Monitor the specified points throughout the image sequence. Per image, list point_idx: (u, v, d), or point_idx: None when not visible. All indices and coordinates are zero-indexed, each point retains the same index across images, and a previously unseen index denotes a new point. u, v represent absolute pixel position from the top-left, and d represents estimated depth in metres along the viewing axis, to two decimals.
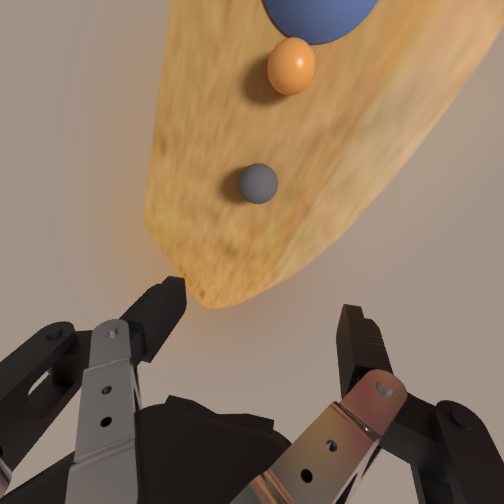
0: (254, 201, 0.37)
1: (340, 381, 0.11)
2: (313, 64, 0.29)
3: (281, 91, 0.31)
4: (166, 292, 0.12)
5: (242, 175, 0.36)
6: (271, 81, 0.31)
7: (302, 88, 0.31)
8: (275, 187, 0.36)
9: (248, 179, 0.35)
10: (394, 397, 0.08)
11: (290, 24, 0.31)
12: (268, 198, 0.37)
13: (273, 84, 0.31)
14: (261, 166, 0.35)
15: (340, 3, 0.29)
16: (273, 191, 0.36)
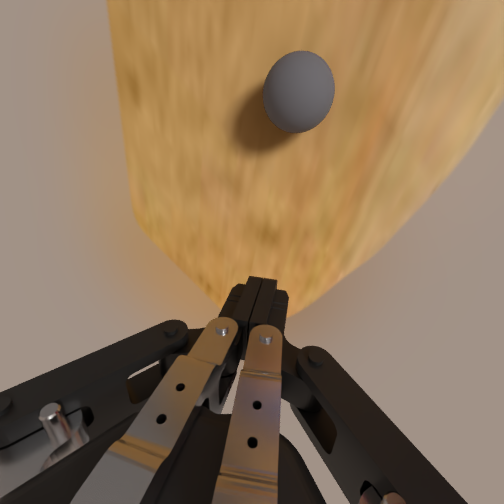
0: (298, 122, 0.20)
1: None
2: None
3: None
4: (255, 292, 0.12)
5: (268, 79, 0.20)
6: None
7: None
8: (332, 86, 0.19)
9: (281, 78, 0.19)
10: (269, 343, 0.09)
11: None
12: (323, 110, 0.20)
13: None
14: (299, 51, 0.19)
15: None
16: (330, 94, 0.19)
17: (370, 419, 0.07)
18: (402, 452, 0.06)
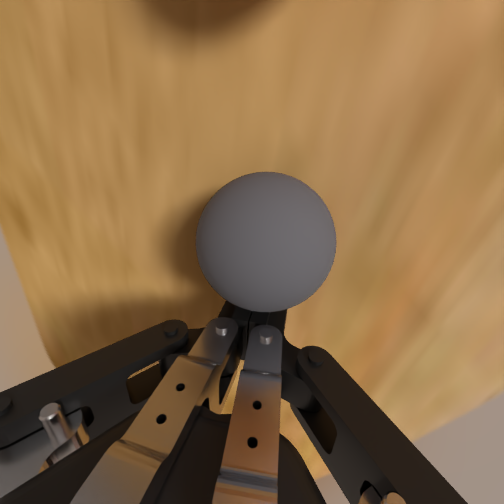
0: (262, 292, 0.09)
1: None
2: None
3: None
4: None
5: (206, 206, 0.10)
6: None
7: None
8: (334, 232, 0.10)
9: (227, 201, 0.09)
10: (269, 343, 0.09)
11: None
12: (317, 274, 0.09)
13: None
14: (268, 172, 0.10)
15: None
16: (331, 244, 0.09)
17: (370, 419, 0.07)
18: (402, 452, 0.06)
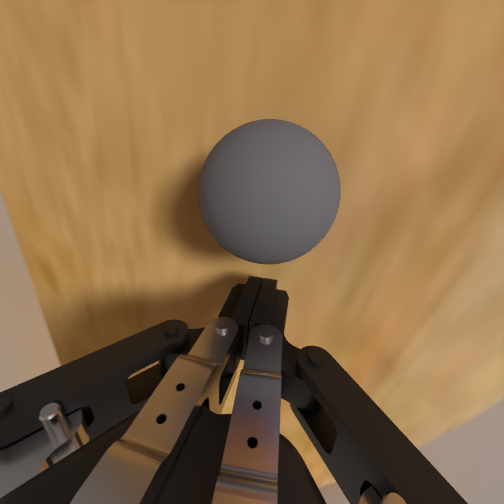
0: None
1: None
2: None
3: None
4: (255, 292, 0.12)
5: None
6: None
7: None
8: None
9: None
10: (269, 343, 0.09)
11: None
12: None
13: None
14: None
15: None
16: None
17: (370, 419, 0.07)
18: (402, 452, 0.06)
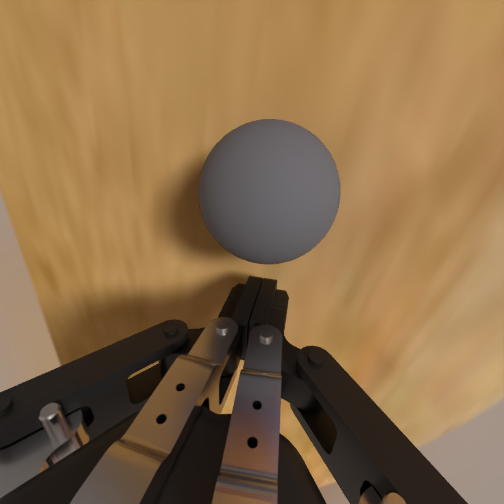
0: None
1: None
2: None
3: None
4: (255, 292, 0.12)
5: None
6: None
7: None
8: None
9: None
10: (269, 343, 0.09)
11: None
12: None
13: None
14: None
15: None
16: None
17: (370, 419, 0.07)
18: (402, 452, 0.06)
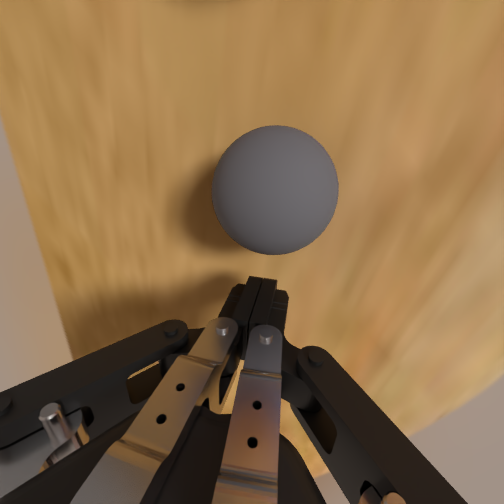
0: None
1: None
2: None
3: None
4: (255, 292, 0.12)
5: None
6: None
7: None
8: None
9: None
10: (269, 343, 0.09)
11: None
12: None
13: None
14: None
15: None
16: None
17: (370, 419, 0.07)
18: (402, 452, 0.06)
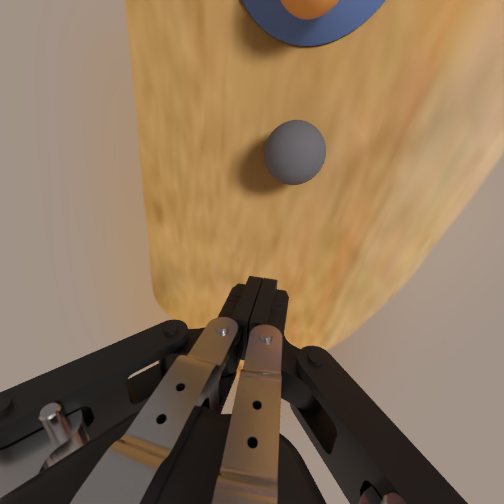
0: None
1: None
2: None
3: None
4: (255, 292, 0.12)
5: None
6: None
7: None
8: None
9: None
10: (269, 343, 0.09)
11: (287, 26, 0.23)
12: None
13: None
14: None
15: None
16: None
17: (370, 419, 0.07)
18: (402, 452, 0.06)
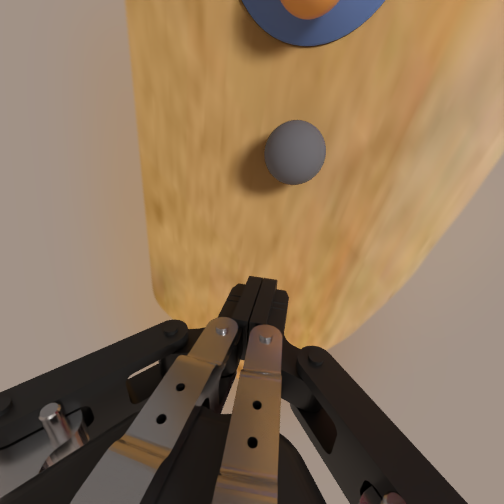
0: None
1: None
2: None
3: None
4: (255, 292, 0.12)
5: None
6: None
7: None
8: None
9: None
10: (269, 343, 0.09)
11: (287, 27, 0.23)
12: None
13: None
14: None
15: None
16: None
17: (370, 419, 0.07)
18: (402, 452, 0.06)
